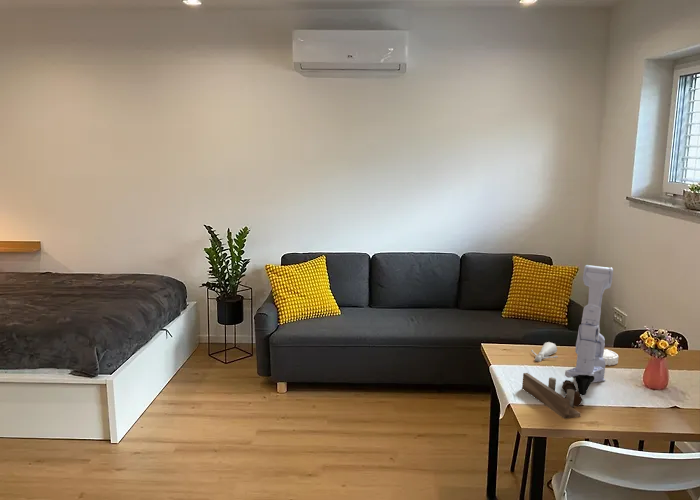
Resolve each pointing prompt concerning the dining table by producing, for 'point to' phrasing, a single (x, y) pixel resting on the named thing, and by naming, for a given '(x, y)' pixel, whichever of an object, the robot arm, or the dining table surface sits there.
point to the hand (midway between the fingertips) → (581, 394)
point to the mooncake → (610, 357)
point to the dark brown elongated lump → (577, 397)
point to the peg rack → (551, 396)
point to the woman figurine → (546, 351)
